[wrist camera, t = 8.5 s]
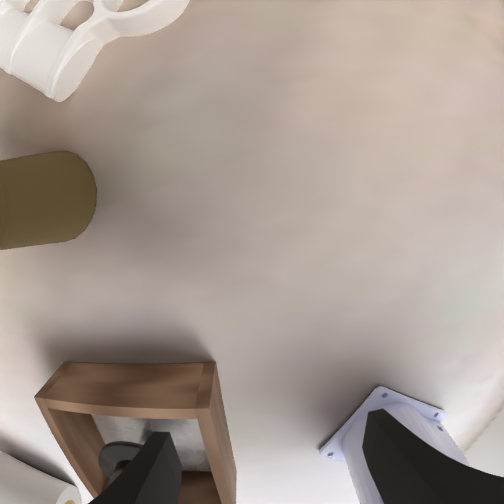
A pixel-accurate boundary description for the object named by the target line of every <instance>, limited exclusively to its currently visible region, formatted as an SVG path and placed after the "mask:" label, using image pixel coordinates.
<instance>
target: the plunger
mask: <svg viewBox="0 0 504 504" xmlns="http://www.w3.org/2000/svg"><path fill="white" fill-rule="evenodd" d="M91 415H92V417H93V419H94V421H95V423H96V426H97V428H98V430H99V432H100V434H101V436H102V438H103V440H104V442H105V444H106V445H105V446H104V447H103V448H102V450H101V452H100V454H99V457H98V463H99V466H100V468H101V470H102V471H103V472H104V474H105V475H106V476H107V477H108V478H109V479H110V484H111V483H112V482H113V481H114V480H115V479H116V477H117V476H118V475H119V474H120V473H121V472H122V471H123V470H124V469H125V467H126V466H127V465H128V464H129V463H130V461H131V460H132V459H133V458H134V457H135V455H136V454H137V453H138V451H139V450H140V449H141V447H142V446H143V445H144V443H145V442H146V441H147V439H148V438H149V437H150V435H151V434H152V433H153V432H154V431H157V432H170V434H171V437H172V440H173V443H174V445H175V448H176V451H177V454H178V456H179V459H180V462H181V464H182V471H211V468H210V464H209V461H208V457H207V454H206V450H205V447H204V443H203V439H202V435H201V432H200V428H199V424H198V420H197V419H149V418H130V417H116V416H104V415H95V414H91Z"/></svg>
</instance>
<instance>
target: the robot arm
mask: <svg viewBox="0 0 504 504" xmlns="http://www.w3.org/2000/svg"><path fill="white" fill-rule="evenodd" d="M384 393H385V394H384ZM383 394H384V395H383ZM445 417H446V412H445V411H443V410H441V409H438V408H435V407H433V406H430V405H428V404H425V403H422V402H420V401H417V400H415V399H412V398H410V397H407V396H405V395H402V394H400V393H397V392H395V391H392V390H390V389H388V388H385V387H383V386H379V387H377V388H376V389H374V391H373V392H372V393H371V394H370V395H369V397H368V398H367V399H366V400H365V401H364V402H363V404H362V405H361V406H360V407H359V408H358V409H357V411H356V412H355V413H354V414H353V415H352V416H351V417H350V418H349V420H348V421H347V422H346V423H345V424H344V425H343V426H342V427H341V428H340V429H339V430H338V431H337V432H336V434H335V435H334V436H333V437H332V438H331V439H330V440H329V441H328V442H327V443H326V444H325V445H324V446H323V447H322V448H321V449H320V451H319V452H320V455H321V456H324V457H328V458H332V459H336V460H340V461H344V462H346V463H347V466H348V469H349V472H350V475H351V478H352V481H353V484H354V487H355V490H356V493H357V496H358V499H359V502H360V504H504V477H500V476H496V475H491V474H488V473H485V472H482V471H480V470H477V469H474V468H472V467H469V463H468V461H467V459H466V458H465V456H464V455H463V453H462V452H461V450H460V449H459V448H458V446H457V445H456V443H455V442H454V441H453V439H452V438H451V436H450V435H449V434H448V432H447V431H446V429H445V428H444V427H443V425H442V424H441V421H442V420H443V419H444V418H445ZM330 452H331V453H330ZM181 473H182V464H181V462H180V459H179V456H178V454H177V451H176V448H175V445H174V443H173V440H172V437H171V434H170V432H157V431H154V432H153V433H152V434H151V435H150V437H149V438H148V439H147V441H146V442H145V443H144V445H143V446H142V447H141V449H140V450H139V451H138V453H137V454H136V455H135V457H134V458H133V459H132V460H131V461H130V463H129V464H128V465H127V466H126V467H125V469H124V470H123V471H122V472H121V473H120V474H119V475H118V476H117V477H116V479H115V480H114V481H113V482H112V483H111V484H110V485H109V486H108V487H107V488H106V489H105V490H104V491H103V492H101V493H100V494H99V495H98V496H97V497H96V498H95V499H93V500H92V501H91V502H90V503H88V504H177V503H178V498H179V493H180V487H181Z"/></svg>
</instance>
